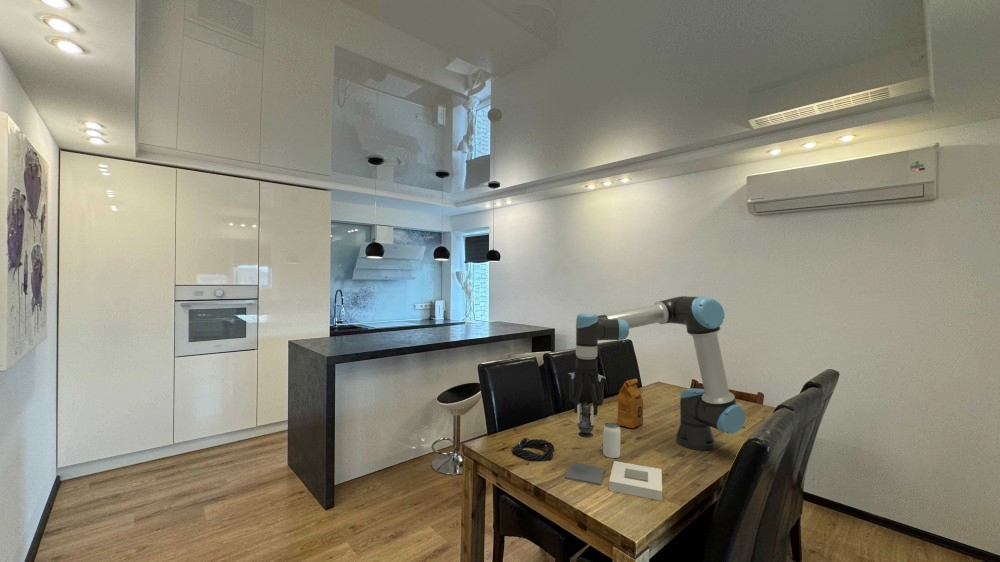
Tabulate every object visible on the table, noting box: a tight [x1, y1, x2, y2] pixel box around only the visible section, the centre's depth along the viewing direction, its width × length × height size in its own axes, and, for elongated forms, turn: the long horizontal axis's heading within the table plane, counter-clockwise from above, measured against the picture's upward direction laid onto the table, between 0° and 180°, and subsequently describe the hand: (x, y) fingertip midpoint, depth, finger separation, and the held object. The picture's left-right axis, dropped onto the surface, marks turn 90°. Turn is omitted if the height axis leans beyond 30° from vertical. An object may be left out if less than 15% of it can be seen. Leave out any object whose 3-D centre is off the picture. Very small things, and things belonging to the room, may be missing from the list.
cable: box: [511, 437, 555, 461], centre depth 154 cm, size 17×14×4 cm
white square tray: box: [608, 460, 663, 502], centre depth 131 cm, size 16×16×3 cm
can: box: [602, 421, 621, 459], centre depth 153 cm, size 6×6×12 cm
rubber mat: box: [564, 462, 606, 486], centre depth 137 cm, size 12×12×1 cm
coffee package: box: [617, 378, 644, 429], centre depth 188 cm, size 10×12×22 cm
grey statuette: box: [577, 401, 595, 439], centre depth 137 cm, size 6×6×12 cm
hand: (585, 423), depth 137 cm, fingers closed on grey statuette, 4 cm apart
